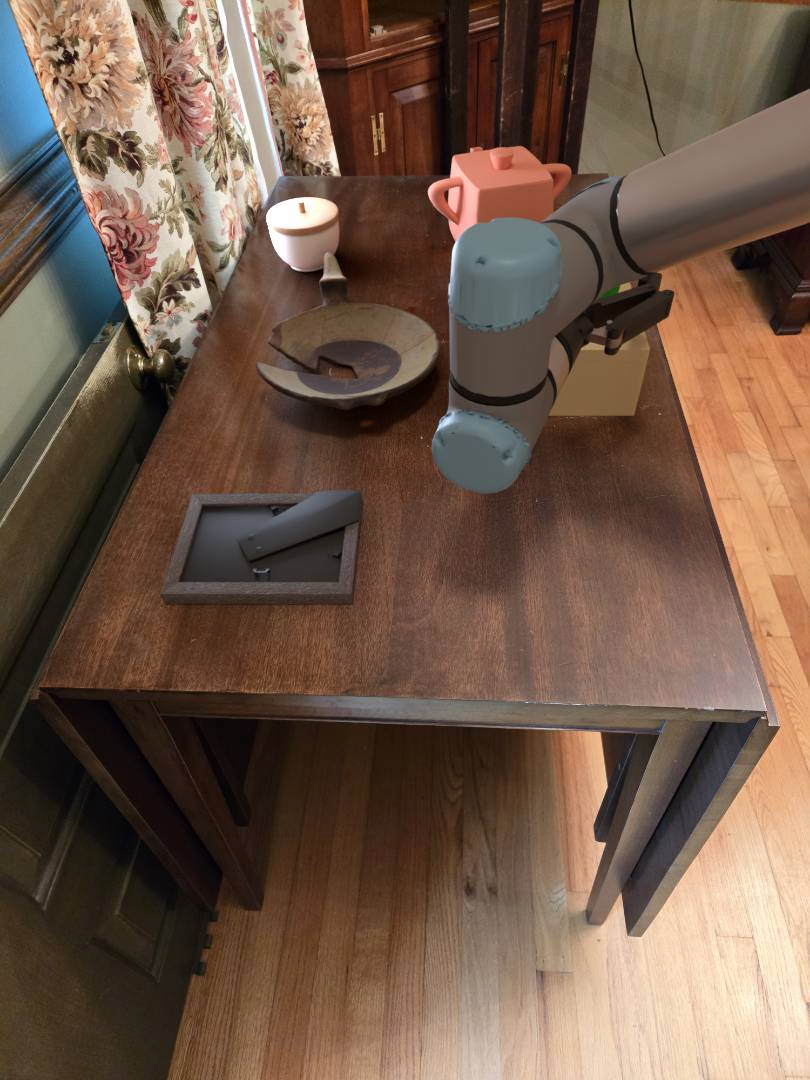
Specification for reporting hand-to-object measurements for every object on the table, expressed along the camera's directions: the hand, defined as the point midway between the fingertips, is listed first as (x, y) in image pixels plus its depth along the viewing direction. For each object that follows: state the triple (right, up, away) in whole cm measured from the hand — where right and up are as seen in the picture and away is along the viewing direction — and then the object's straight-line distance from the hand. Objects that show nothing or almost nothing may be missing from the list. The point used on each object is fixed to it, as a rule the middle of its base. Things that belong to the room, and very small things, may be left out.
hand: (589, 252), depth 78 cm
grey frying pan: (-26, -9, +16) cm, 32 cm away
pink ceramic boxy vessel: (-6, +17, +37) cm, 41 cm away
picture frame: (-34, -32, -5) cm, 47 cm away
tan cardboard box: (+1, -11, +12) cm, 16 cm away
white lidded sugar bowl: (-35, +12, +35) cm, 51 cm away
